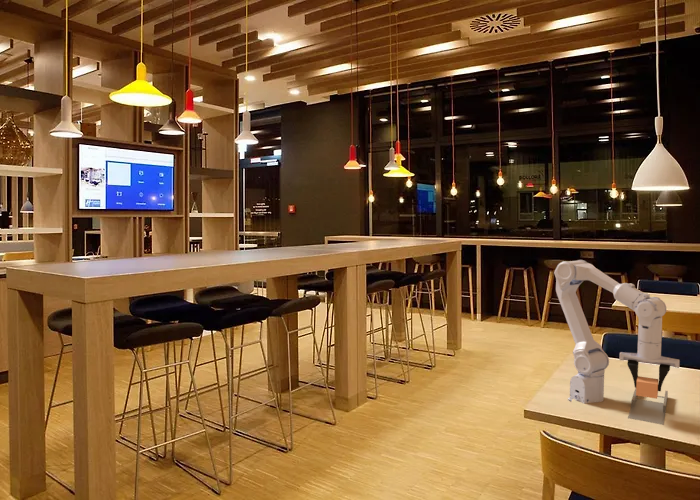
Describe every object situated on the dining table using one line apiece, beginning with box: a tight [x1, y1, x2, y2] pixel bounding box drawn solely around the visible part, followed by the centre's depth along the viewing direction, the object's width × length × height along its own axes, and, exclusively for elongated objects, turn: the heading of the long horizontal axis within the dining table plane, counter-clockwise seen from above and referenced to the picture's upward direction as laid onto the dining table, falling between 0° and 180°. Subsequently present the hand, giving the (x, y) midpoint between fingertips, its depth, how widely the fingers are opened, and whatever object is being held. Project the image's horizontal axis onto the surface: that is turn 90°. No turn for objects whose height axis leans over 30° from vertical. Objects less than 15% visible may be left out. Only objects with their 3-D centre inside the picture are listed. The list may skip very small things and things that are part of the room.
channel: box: [627, 387, 669, 425], centre depth 153 cm, size 25×9×3 cm, turn 147°
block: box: [636, 375, 659, 399], centre depth 144 cm, size 5×5×4 cm
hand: (647, 388), depth 147 cm, fingers closed on block, 5 cm apart
